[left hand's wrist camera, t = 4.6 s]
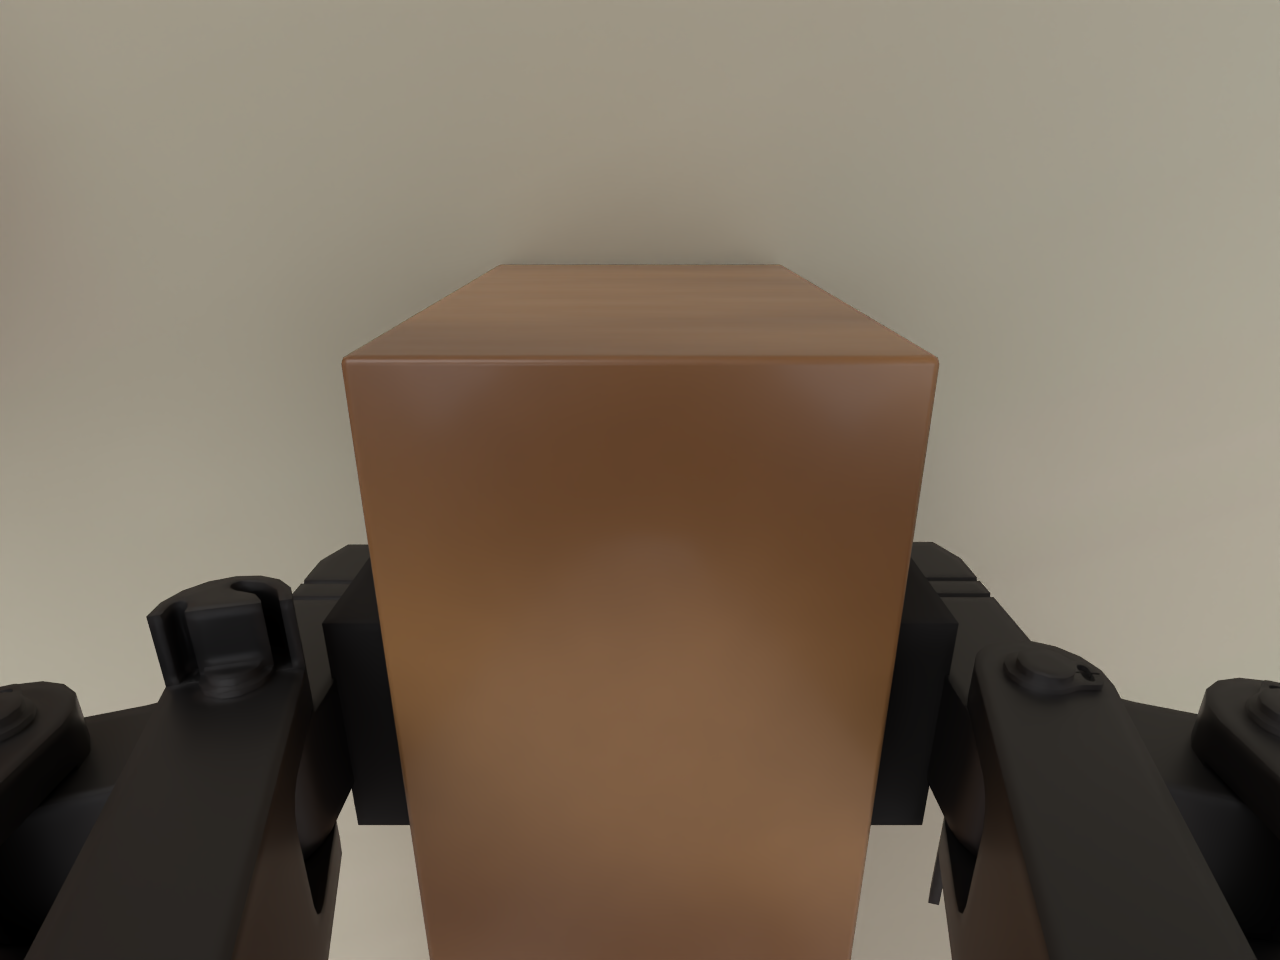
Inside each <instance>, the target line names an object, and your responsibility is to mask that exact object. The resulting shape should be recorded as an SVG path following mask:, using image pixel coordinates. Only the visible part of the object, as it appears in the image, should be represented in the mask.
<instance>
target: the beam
mask: <svg viewBox="0 0 1280 960" xmlns="http://www.w3.org/2000/svg"><path fill="white" fill-rule="evenodd" d="M938 369H939V361H938V358H937V357H936V356H934V355H932V354H931V353H929V352H927V351H926V350H924V349H922V348H921V347H919V346H917V345H915V344H914V343H912V342H910V341H909V340H907V339H905V338H904V337H902V336H900V335H899V334H897V333H895V332H893V331H892V330H890V329H888V328H887V327H885V326H883V325H882V324H880V323H878V322H877V321H875V320H873V319H871V318H870V317H868V316H866V315H865V314H863V313H861V312H860V311H858V310H856V309H855V308H853V307H851V306H849V305H848V304H846V303H844V302H843V301H841V300H839V299H838V298H836V297H834V296H833V295H831V294H829V293H828V292H826V291H824V290H822V289H821V288H819V287H817V286H816V285H814V284H812V283H811V282H809V281H807V280H806V279H804V278H802V277H800V276H799V275H797V274H795V273H794V272H792V271H790V270H789V269H787V268H785V267H784V266H781V265H499V266H497V267H495V268H494V269H492V270H490V271H488V272H487V273H485V274H483V275H482V276H480V277H478V278H477V279H475V280H473V281H472V282H470V283H468V284H467V285H465V286H463V287H461V288H460V289H458V290H456V291H455V292H453V293H451V294H450V295H448V296H446V297H445V298H443V299H441V300H440V301H438V302H436V303H434V304H433V305H431V306H429V307H428V308H426V309H424V310H423V311H421V312H419V313H418V314H416V315H414V316H413V317H411V318H409V319H407V320H406V321H404V322H402V323H401V324H399V325H397V326H396V327H394V328H392V329H391V330H389V331H387V332H386V333H384V334H382V335H380V336H379V337H377V338H375V339H374V340H372V341H370V342H369V343H367V344H365V345H364V346H362V347H360V348H358V349H357V350H355V351H353V352H352V353H350V354H348V355H347V356H345V357H343V360H342V370H343V377H344V384H345V391H346V397H347V404H348V411H349V418H350V424H351V431H352V438H353V445H354V451H355V458H356V465H357V471H358V478H359V485H360V492H361V498H362V505H363V512H364V519H365V525H366V532H367V539H368V545H369V552H370V559H371V566H372V572H373V579H374V586H375V593H376V599H377V606H378V613H379V619H380V626H381V633H382V640H383V646H384V653H385V660H386V667H387V673H388V680H389V687H390V693H391V700H392V707H393V714H394V720H395V727H396V734H397V741H398V747H399V754H400V761H401V767H402V774H403V781H404V788H405V794H406V801H407V808H408V815H409V821H410V828H411V835H412V842H413V848H414V855H415V862H416V868H417V875H418V882H419V889H420V895H421V902H422V909H423V916H424V922H425V929H426V936H427V942H428V949H429V956H430V960H851V953H852V946H853V940H854V933H855V926H856V919H857V913H858V906H859V899H860V893H861V886H862V879H863V872H864V866H865V859H866V852H867V846H868V839H869V832H870V825H871V819H872V812H873V805H874V799H875V792H876V785H877V778H878V772H879V765H880V758H881V752H882V745H883V738H884V731H885V725H886V718H887V711H888V705H889V698H890V691H891V685H892V678H893V671H894V664H895V658H896V651H897V644H898V638H899V631H900V624H901V617H902V611H903V604H904V597H905V591H906V584H907V577H908V570H909V564H910V557H911V550H912V544H913V537H914V530H915V523H916V517H917V510H918V503H919V497H920V490H921V483H922V476H923V470H924V463H925V456H926V450H927V443H928V436H929V429H930V423H931V416H932V409H933V403H934V396H935V389H936V382H937V376H938Z"/></svg>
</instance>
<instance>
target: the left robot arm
mask: <svg viewBox="0 0 1280 960" xmlns="http://www.w3.org/2000/svg"><path fill="white" fill-rule="evenodd" d="M147 621H148V624H149V628H150V631H151V635H152V638H153V642H154V646H155V649H156V653H157V656H158V660H159V663H160V667H161V670H162V674H163V678H164V681H165V685H166V688H165V690H164V692H163V694H162V695H161V697H160V699H159V701H158V703H154V704H150V705H146V706H141V707H136V708H131V709H126V710H120V711H115V712H110V713H105V714H100V715H95V716H89V717H84V716H83V713H82V710H81V707H80V704H79V702H78V699H77V696H76V693H75V692H74V691H73V690H71V689H70V688H68V687H67V686H66V685H64V684H59V683H51V682H44V681H41V682H32V683H24V684H12V685H7V686H2V687H0V960H328V957H329V949H330V941H331V934H332V926H333V918H334V911H335V903H336V895H337V887H338V880H339V872H340V864H341V856H342V850H341V843H340V836H339V831H338V826H337V821H336V820H337V818H338V816H339V814H340V812H341V810H342V807H343V805H344V803H345V801H346V799H347V797H348V795H349V793H350V791H351V788H352V792H353V798H354V803H355V809H356V814H357V820H358V825H410V821H409V815H408V808H407V801H406V794H405V788H404V781H403V774H402V767H401V761H400V754H399V747H398V741H397V734H396V727H395V720H394V714H393V707H392V700H391V693H390V687H389V680H388V673H387V667H386V660H385V653H384V646H383V640H382V633H381V626H380V619H379V613H378V606H377V599H376V593H375V586H374V579H373V572H372V566H371V559H370V552H369V545H347V546H345V547H343V548H341V549H340V550H338V551H336V552H335V553H333V554H331V555H330V556H328V557H326V558H325V559H323V560H321V561H320V562H319V563H318V564H317V566H316V567H315V568H314V569H313V570H312V571H311V573H310V574H309V575H308V576H307V577H306V579H305V580H304V584H301V585H300V586H299V587H298V588H297V589H296V590H295V592H294V593H293V594H292V591H291V587H289V586H288V585H287V584H285V583H284V582H282V581H281V580H280V579H275V578H270V577H265V576H235V577H230V578H225V579H220V580H214V581H209V582H206V583H203V584H200V585H197V586H195V587H192V588H189V589H186V590H183V591H181V592H179V593H177V594H176V595H174V596H172V597H170V598H168V599H167V600H165V601H163V602H161V603H160V604H159V605H158V606H157V607H156V608H155V609H154V610H153V611H152V612H151V613H150V614H149V615H148V616H147ZM929 786H930V788H931V790H932V792H933V794H934V796H935V798H936V800H937V802H938V804H939V807H940V809H941V811H942V813H943V815H944V821H943V826H942V831H941V836H940V842H939V847H938V852H937V857H936V862H935V867H934V872H933V877H932V882H931V888H930V895H929V902H928V903H932V904H936V905H939V902H940V897H941V892H942V889H943V893H944V901H945V909H946V916H947V924H948V932H949V939H950V947H951V955H952V960H1280V683H1278V682H1273V681H1267V680H1265V681H1262V680H1254V679H1245V678H1234V679H1227V680H1219V681H1217V682H1215V683H1214V684H1213V685H1211V686H1210V687H1209V688H1207V689H1206V692H1205V695H1204V698H1203V701H1202V704H1201V706H1200V709H1199V712H1198V714H1194V713H1188V712H1183V711H1178V710H1173V709H1168V708H1162V707H1157V706H1152V705H1147V704H1142V703H1136V702H1132V701H1128V700H1124V699H1121V698H1120V696H1119V694H1118V692H1117V690H1116V688H1115V686H1114V685H1113V684H1112V683H1111V681H1110V680H1109V679H1108V678H1107V677H1106V676H1105V674H1104V673H1103V672H1102V671H1101V670H1100V669H1098V668H1097V667H1095V666H1094V665H1092V664H1091V663H1089V662H1088V661H1086V660H1085V659H1083V658H1082V657H1080V656H1077V655H1075V654H1072V653H1070V652H1068V651H1065V650H1063V649H1060V648H1058V647H1055V646H1051V645H1046V644H1042V643H1037V642H1033V641H1030V639H1029V638H1028V637H1027V636H1026V635H1025V634H1024V632H1023V631H1022V630H1021V629H1020V628H1019V627H1018V625H1017V624H1016V623H1015V622H1014V621H1013V619H1012V618H1011V617H1010V616H1009V615H1008V614H1007V612H1006V611H1005V610H1004V609H1003V608H1002V607H1001V605H1000V604H999V603H998V602H997V601H996V599H995V598H994V597H990V592H989V591H988V590H987V589H986V588H985V587H984V585H983V584H982V583H981V582H980V581H977V577H976V576H975V575H974V574H973V572H972V571H971V570H970V569H969V568H968V567H967V565H966V564H965V563H964V562H963V561H962V559H961V558H959V557H957V556H956V555H954V554H952V553H951V552H949V551H947V550H945V549H944V548H942V547H940V546H939V545H937V544H935V543H933V542H913V544H912V550H911V557H910V564H909V570H908V577H907V584H906V591H905V597H904V604H903V611H902V617H901V624H900V631H899V638H898V644H897V651H896V658H895V664H894V671H893V678H892V685H891V691H890V698H889V705H888V711H887V718H886V725H885V731H884V738H883V745H882V752H881V758H880V765H879V772H878V778H877V785H876V792H875V799H874V805H873V812H872V819H871V825H922V823H923V817H924V812H925V806H926V801H927V795H928V790H929Z"/></svg>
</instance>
